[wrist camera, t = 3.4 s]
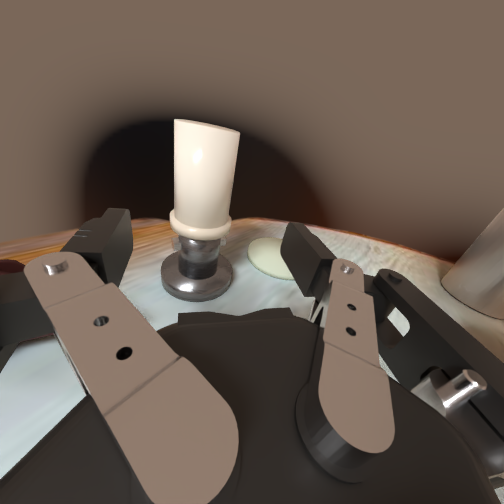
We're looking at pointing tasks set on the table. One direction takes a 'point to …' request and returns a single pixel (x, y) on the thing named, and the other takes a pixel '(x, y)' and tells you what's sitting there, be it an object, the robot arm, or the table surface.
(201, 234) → the cream white cylinder
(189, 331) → the robot arm
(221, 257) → the dark grey stepped piece
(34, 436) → the table surface
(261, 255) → the coaster
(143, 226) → the table surface
